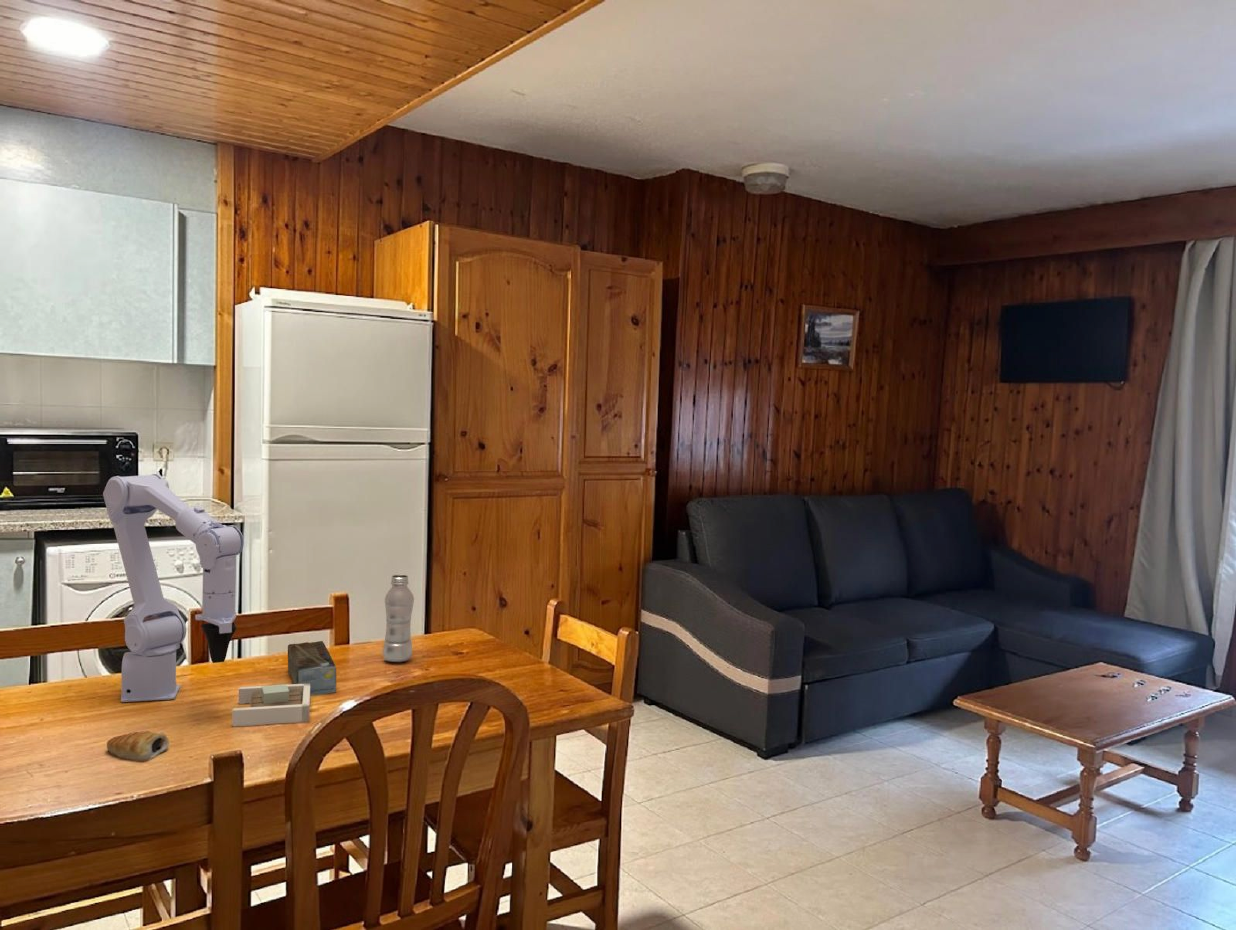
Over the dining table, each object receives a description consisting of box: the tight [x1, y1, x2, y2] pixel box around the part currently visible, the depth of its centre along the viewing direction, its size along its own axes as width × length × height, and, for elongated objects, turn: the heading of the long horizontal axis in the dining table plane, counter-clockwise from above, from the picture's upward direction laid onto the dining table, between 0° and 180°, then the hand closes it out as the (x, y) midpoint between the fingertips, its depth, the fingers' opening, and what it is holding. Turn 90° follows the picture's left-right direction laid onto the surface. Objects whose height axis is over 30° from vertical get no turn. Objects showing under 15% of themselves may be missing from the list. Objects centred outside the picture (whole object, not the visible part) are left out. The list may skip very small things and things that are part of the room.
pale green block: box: [261, 683, 289, 704], centre depth 171 cm, size 4×4×2 cm
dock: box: [231, 683, 311, 727], centre depth 170 cm, size 13×13×3 cm
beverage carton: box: [287, 640, 337, 696], centre depth 189 cm, size 8×19×7 cm, turn 26°
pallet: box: [250, 690, 302, 707], centre depth 171 cm, size 9×9×3 cm
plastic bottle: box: [382, 574, 415, 663], centre depth 205 cm, size 6×7×20 cm
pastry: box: [106, 730, 170, 762], centre depth 149 cm, size 9×7×4 cm
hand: (218, 661), depth 168 cm, fingers closed
